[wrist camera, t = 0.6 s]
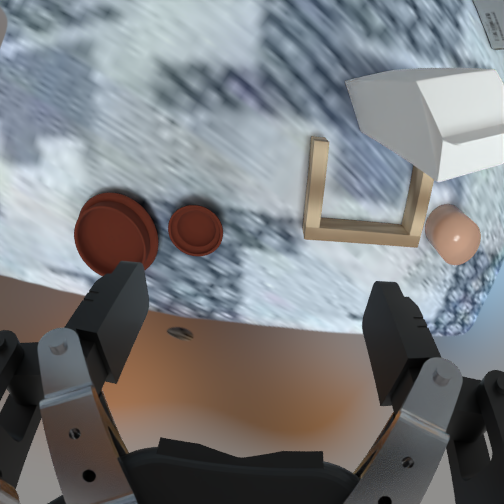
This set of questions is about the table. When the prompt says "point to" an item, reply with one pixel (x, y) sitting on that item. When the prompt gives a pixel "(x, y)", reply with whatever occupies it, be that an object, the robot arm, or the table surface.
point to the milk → (434, 117)
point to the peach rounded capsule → (452, 234)
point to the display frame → (362, 230)
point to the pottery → (139, 232)
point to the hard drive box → (492, 20)
